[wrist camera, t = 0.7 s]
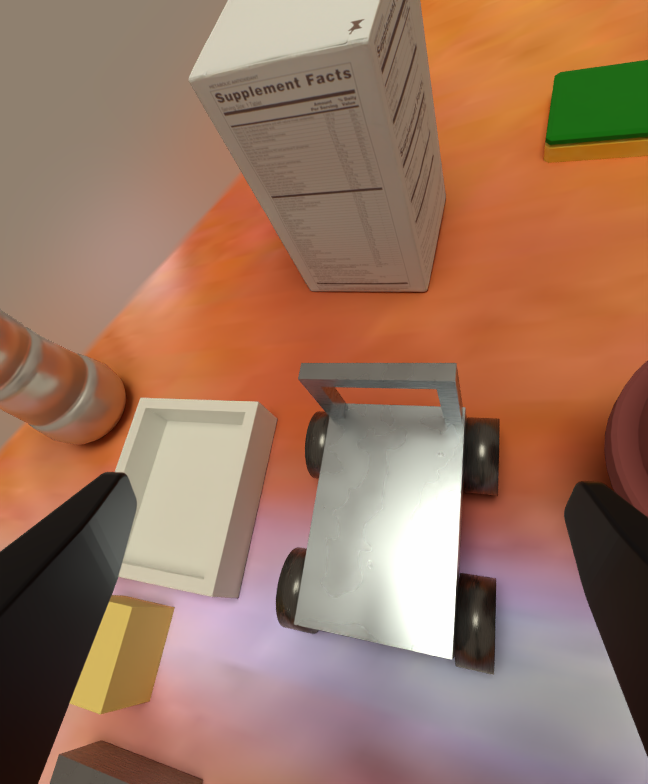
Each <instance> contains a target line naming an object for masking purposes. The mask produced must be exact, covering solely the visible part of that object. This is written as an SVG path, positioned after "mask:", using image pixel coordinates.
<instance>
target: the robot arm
mask: <svg viewBox="0 0 648 784" xmlns="http://www.w3.org/2000/svg"><path fill="white" fill-rule="evenodd" d="M136 510H137V499H136V496H135V493H134V491H133V488H132V486H131V483H130V480H129V478H128V476H127V475H126V474H125V473H123V472H105V473H103V474H101V475H100V476H98V477H97V478H96V479H95V480H93V481H92V482H91V483H89V484H88V485H87V486H85V487H84V488H83V489H82V490H80V491H79V492H78V493H76V494H75V495H74V496H72V497H71V498H70V499H68V500H67V501H66V502H65V503H63V504H62V505H61V506H59V507H58V508H57V509H55V510H54V511H53V512H51V513H50V514H49V515H48V516H46V517H45V518H44V519H42V520H41V521H40V522H38V523H37V524H36V525H35V526H33V527H32V528H31V529H29V530H28V531H27V532H25V533H24V534H23V535H21V536H20V537H19V538H18V539H16V540H15V541H14V542H12V543H11V544H10V545H8V546H7V547H6V548H4V549H3V550H2V551H1V552H0V784H38V782H39V780H40V777H41V775H42V772H43V770H44V767H45V765H46V762H47V759H48V757H49V754H50V752H51V749H52V747H53V744H54V742H55V739H56V736H57V734H58V731H59V729H60V726H61V724H62V721H63V718H64V716H65V713H66V711H67V708H68V706H69V703H70V701H71V698H72V695H73V693H74V690H75V688H76V685H77V683H78V680H79V678H80V675H81V672H82V670H83V667H84V665H85V662H86V660H87V657H88V654H89V652H90V649H91V647H92V644H93V642H94V639H95V637H96V634H97V631H98V629H99V626H100V624H101V621H102V619H103V616H104V613H105V611H106V608H107V606H108V603H109V601H110V598H111V596H112V593H113V590H114V588H115V585H116V582H117V579H118V576H119V572H120V569H121V565H122V562H123V558H124V554H125V551H126V547H127V543H128V540H129V536H130V532H131V528H132V525H133V521H134V517H135V514H136ZM564 517H565V523H566V526H567V530H568V534H569V538H570V541H571V545H572V549H573V553H574V556H575V560H576V564H577V568H578V571H579V575H580V579H581V582H582V586H583V589H584V593H585V596H586V598H587V601H588V604H589V607H590V609H591V612H592V614H593V617H594V620H595V622H596V625H597V627H598V630H599V633H600V635H601V638H602V640H603V643H604V645H605V648H606V651H607V653H608V656H609V658H610V661H611V663H612V666H613V669H614V671H615V674H616V676H617V679H618V682H619V684H620V687H621V689H622V692H623V694H624V697H625V700H626V702H627V705H628V707H629V710H630V713H631V715H632V718H633V720H634V723H635V725H636V728H637V731H638V733H639V736H640V738H641V741H642V744H643V746H644V749H645V751H646V754H647V756H648V517H647V516H646V515H644V514H643V513H642V512H640V511H639V510H638V509H636V508H635V507H634V506H633V505H631V504H630V503H629V502H627V501H626V500H625V499H623V498H622V497H621V496H619V495H618V494H617V493H616V492H614V491H613V490H612V489H610V488H609V487H608V486H606V485H605V484H603V483H601V482H595V481H581V482H578V483H577V484H576V485H575V487H574V489H573V492H572V494H571V496H570V498H569V500H568V503H567V505H566V507H565V512H564Z"/></svg>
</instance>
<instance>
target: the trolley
mask: <svg viewBox="0 0 648 784" xmlns="http://www.w3.org/2000/svg"><path fill="white" fill-rule="evenodd" d="M298 379H299V381H300V382H301V383H302V384H303V385H304V387H305V388H306V389H307V390H308V391H309V393H310V394H311V395H312V396H313V397H314V399H315V400H316V401H317V402H318V403H319V405H320V406H321V407H322V408H323V409H324V411H325V412H320V411H319V412H316V413H315V414H314V415H313V417H312V418H311V421H310V423H309V426H308V429H307V434H306V442H305V458H306V465H307V469H308V471H309V473H310V475H311V476H312V477H313V478H319V482H318V487H317V493H316V499H315V505H314V511H313V516H312V522H311V528H310V534H309V540H308V545H307V549H305V548H299V547H298V548H295V549H293V550H292V551H291V552H290V554H289V555H288V557H287V559H286V561H285V563H284V565H283V568H282V571H281V574H280V577H279V582H278V587H277V594H276V612H277V618H278V621H279V623H280V625H281V626H283V627H285V628H290V629H294V630H299V631H303V632H307V633H312V634H315V633H317V632H318V631H319V630H321V631H326V632H330V633H335V634H339V635H344V636H348V637H353V638H357V639H362V640H366V641H371V642H375V643H380V644H384V645H389V646H393V647H397V648H402V649H406V650H411V651H415V652H420V653H424V654H429V655H433V656H438V657H442V658H447V659H451V660H452V659H453V658H454V657H455V664H456V666H457V667H461V668H465V669H470V670H474V671H479V672H483V673H487V674H492V675H494V659H495V615H496V578H490V577H484V576H477V575H471V574H465V573H460V577H459V562H460V542H461V522H462V502H463V483H464V488H465V492H466V493H476V494H487V495H497V496H498V470H499V419H494V418H469V417H468V418H467V417H466V409H465V407H463V405H462V398H461V391H460V384H459V377H458V370H457V363H301V368H300V372H299V377H298ZM335 387H356V388H407V389H437V392H438V396H439V400H440V404H441V407H434V406H404V405H373V404H346V403H345V401H344V400H343V398H342V397H341V396H340V394H339V393H338V391H337V390H336V388H335ZM458 582H459V584H458Z"/></svg>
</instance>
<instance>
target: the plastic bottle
mask: <svg viewBox="0 0 648 784" xmlns="http://www.w3.org/2000/svg"><path fill="white" fill-rule="evenodd" d="M125 404H126V393H125V389H124V385H123V382H122V380H121V379H120V377H119V376H118V375H117V374H115V373H114V372H113V371H112V370H111V369H110V368H109V367H108V366H107V365H105V364H103V363H101V362H98V361H96V360H94V359H92V358H89V357H87V356H84V355H81V354H76V353H74V352H72V351H70V350H68V349H66V348H64V347H62V346H60V345H58V344H56V343H54V342H52V341H49V340H47V339H45V338H43V337H41V336H40V335H38V334H36V333H35V332H33V331H32V330H31V329H29V328H27V327H25V326H24V325H23V324H21V323H20V322H18V321H17V320H16V319H14V318H12V317H11V316H10V315H8V314H6V313H5V312H3V311H2V310H1V309H0V410H3V411H4V412H7V413H8V414H10V415H13V416H14V417H17V418H19V419H20V420H22V421H24V422H26V423H28V424H29V425H30V426H32V427H33V428H34V429H36V430H37V431H39V432H41V433H43V434H44V435H46V436H48V437H50V438H51V439H53V440H55V441H59V442H64V443H70V444H76V445H79V444H85V443H89V442H92V441H95V440H98V439H100V438H102V437H103V436H105V435H106V434H107V433H109V432H110V431H111V430H112V429H113V428H114V426H115V425H116V424H117V423H118V421H119V419H120V418H121V416H122V414H123V411H124V408H125Z"/></svg>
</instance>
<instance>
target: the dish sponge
mask: <svg viewBox="0 0 648 784" xmlns="http://www.w3.org/2000/svg"><path fill="white" fill-rule="evenodd" d="M639 156H648V60H644V61H637V62H630V63H623V64H615V65H608V66H601V67H594V68H587V69H580V70H573V71H566V72H560V73H559V74H557V75H556V76H555V78H554V85H553V92H552V99H551V106H550V113H549V120H548V127H547V134H546V141H545V150H544V160H545V161H546V162H548V163H552V162H566V161H581V160H595V159H610V158H624V157H639Z"/></svg>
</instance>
